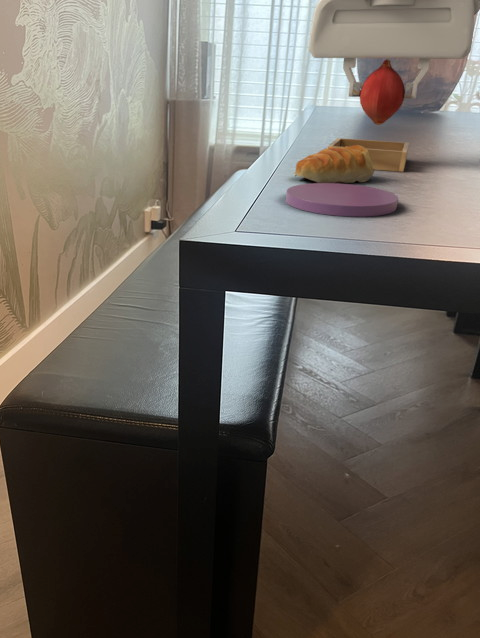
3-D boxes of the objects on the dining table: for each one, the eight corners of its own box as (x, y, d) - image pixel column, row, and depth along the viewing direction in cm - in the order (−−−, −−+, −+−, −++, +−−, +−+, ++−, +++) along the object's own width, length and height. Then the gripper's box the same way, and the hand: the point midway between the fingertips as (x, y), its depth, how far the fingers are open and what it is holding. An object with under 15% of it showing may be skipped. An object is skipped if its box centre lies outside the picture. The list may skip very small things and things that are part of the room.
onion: (350, 122, 85) (357, 58, 81) (388, 122, 86) (397, 58, 82) (366, 127, 80) (374, 59, 76) (407, 126, 81) (417, 59, 77)
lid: (370, 192, 67) (372, 182, 66) (416, 216, 57) (418, 205, 57) (273, 192, 65) (274, 183, 65) (303, 217, 56) (305, 206, 55)
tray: (335, 155, 91) (337, 137, 89) (405, 161, 88) (409, 142, 87) (325, 165, 82) (327, 146, 81) (403, 172, 79) (406, 151, 78)
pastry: (318, 187, 68) (321, 152, 66) (280, 177, 73) (283, 144, 72) (377, 181, 73) (382, 147, 71) (338, 172, 78) (342, 141, 76)
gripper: (487, -26, 74) (463, 97, 81) (320, -21, 80) (311, 93, 87) (490, -32, 69) (464, 101, 76) (311, -26, 75) (302, 97, 82)
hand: (381, 97), depth 81 cm, fingers closed on onion, 6 cm apart
